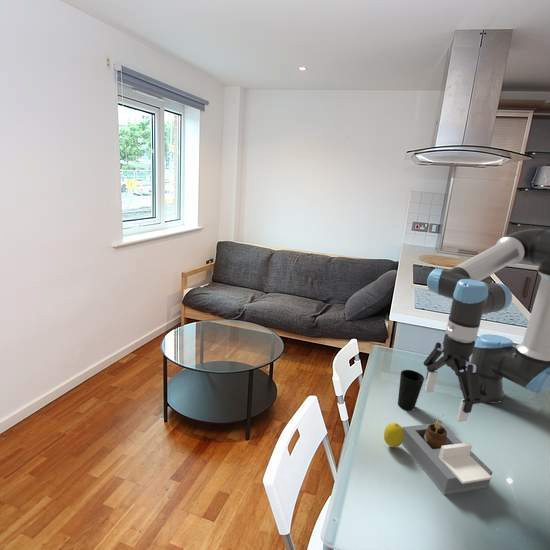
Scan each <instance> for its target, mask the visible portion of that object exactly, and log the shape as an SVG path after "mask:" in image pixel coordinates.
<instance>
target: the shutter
mask: <svg viewBox="0 0 550 550" xmlns="http://www.w3.org/2000/svg"><path fill="white" fill-rule="evenodd" d="M472 447H473V445H472V443H471V442H462V443H459V444H451V445H444V446H441V450H440V454H439V459H440V460H441V461H442V462H443V463H444V464H445V465H446V466H447V468H448V469H449V470H450V471H451V472H452V473H453V474H454V475H455V476H456V477H457V479H458V480H459V481H460V482H461V483H462V484H465V483H471V482H477V481H483V480H489V479H490V480H492V479H493V477H492V475H491V476H490V475H489V474H488V473H487V472H486V471H485V470H484V469H483V468H482V467H481V466H480V465H479V464H478V463H477V462H476V461H475V460H474V459H473V458H472V457H471V456H470V452H471V451H472Z"/></svg>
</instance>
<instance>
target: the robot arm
mask: <svg viewBox="0 0 550 550" xmlns="http://www.w3.org/2000/svg"><path fill="white" fill-rule="evenodd" d="M520 262H523V263H525V262H526V263H529V264H530V263H531V264H534V265H538V269H537V272H538V274H539V276H541V277H540V282H539V285H538V288H537V292H536V295H535V299H534V302H533V305H532V309H531V312H530V316H529V320H528V323H527V326H526V330H525V333H524V335H523V336H524V337H523V340H522V342H520V343H518V344H516V346H514V342H513V340H512V339H510V338H508V337H506V336H503V335H498V334H493V333H492V334H491V333H490V334H489V333H486V334H484V333H483V334H480V335H478V334H479V329H480V325H481V320H482V318H483V315H486V314H491V313H496V312H500V311H502V310H504V309H507V308H509V306H510V305H511V303H512V302H513V293H512V291H511V289H510V288H509V287H508V286H507V285H505V284H502V283H496V282H494V283H493V282H492V283H487V282H484V281H482V280H484V279H486V278H488V277H489V276H491V275H493V274H495V273H497V272H499V271H501V270H502V269H503V268H506V267H507V266H509V265H515V264H516V265H517V264H518V263H520ZM426 282H427V284H426V285H427V288H428V290H429V291H430V292H433V293H435V294H437V295H438V296H443V297H445V298H448V299H451V300H452V302H451V306H450V312H449V315H448V320H447V324H446V329H445V334H444V338H443V341H442V342H440V341H439V342H435V346H434V348H433V350H432V351H431V352H430V354H428V356H427V357H426V359H425V360H424V361H423V366H424V367H426V370H427V372H426V381H425V382H426V383H425V387H424V392H425V393H431V392H432V393H434V392H435V388H436V383H437V379H438V370H439V369H440V368H442V367H444V366H446V367H449V368H450V369H451V370H452V371H453V372H454V374H455V375H456V377H457V379H458V382H459V383H458V384H459V385H458V386H460V387H459V389H460V388H461V389H460V390H461V393H462V396H463V398H461V400H460V402H459V407H458V408H459V409H458V411H457V414H456V416H457V417H456V420H455V421H456V422H458V423H460V422H468V417H469V414H470V413H471V412H472V409H473V406H474V405H479V404H481V403H482V401H483V403H486V402H490V403H489V404H492V403H491V402H499V401H501V400H502V401H503V399H504V394H505V393H504V389H503V388H504V386H503V385H504V382H503V379H506V380H507V381H510V382H511V383H514V384H516V385H518V386H519V387H522V388H524V389H525V390H529V391H530V392H533V393H535V394H543V393H545V392H546V391H548V390H549V389H550V230H549V229H545V228H527V229H524V230H519V231H516V232H513V233H510V234H508V235H505V236H504V237H501V238H500V239H498V240H497V242H496V243H495V245H493V246H491V247H489V248H487V249H485V250H484V251H483V250H482V252H480V253H478V254H476V255H474V256H472V257H469V259H467V260H465V261H463V262H461V263H460V264H457V265H455V266H454V267H452V268H450V269H448V270H446V269H444V268H434V269H432V271H431V272H430V273H429V275H428V277H427V280H426ZM442 354H443V356H441V355H442ZM502 401H501V402H502ZM499 403H500V402H499Z"/></svg>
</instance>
